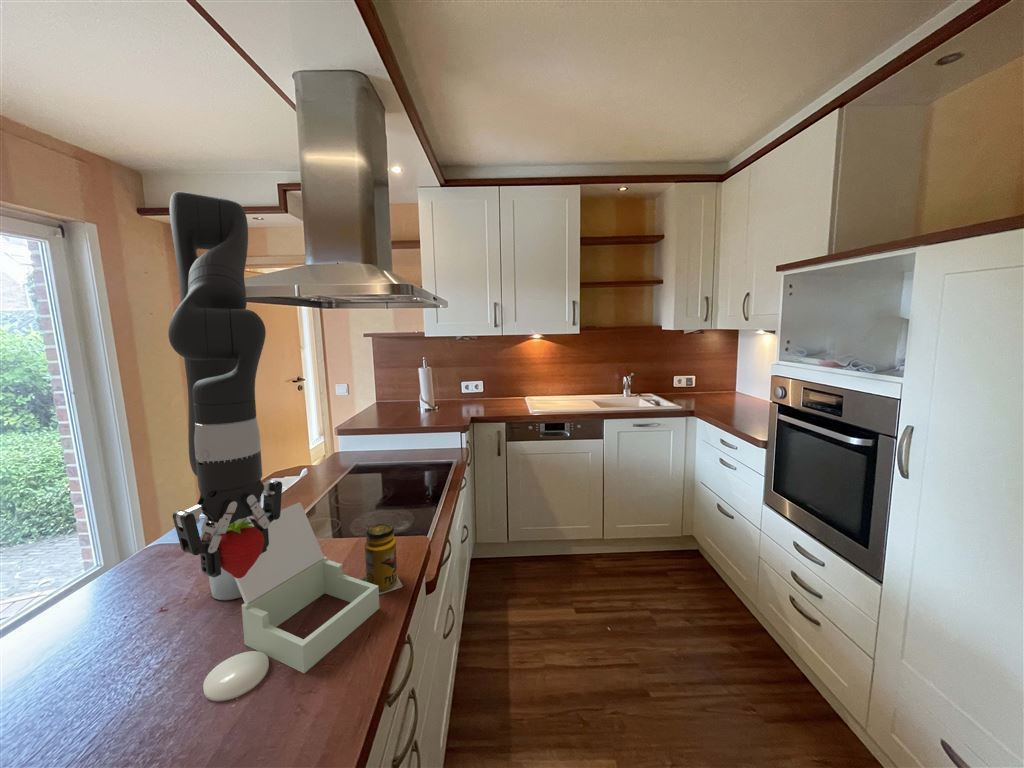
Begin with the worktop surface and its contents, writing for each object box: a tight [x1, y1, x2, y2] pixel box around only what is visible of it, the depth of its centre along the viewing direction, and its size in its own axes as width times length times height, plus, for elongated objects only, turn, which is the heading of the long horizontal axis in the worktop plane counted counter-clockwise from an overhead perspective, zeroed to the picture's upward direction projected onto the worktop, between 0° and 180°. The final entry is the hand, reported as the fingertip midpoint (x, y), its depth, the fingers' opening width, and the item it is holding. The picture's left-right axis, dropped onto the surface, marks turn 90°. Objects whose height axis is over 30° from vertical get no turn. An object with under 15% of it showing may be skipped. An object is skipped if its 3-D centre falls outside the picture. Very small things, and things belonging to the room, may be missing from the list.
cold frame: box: [234, 501, 380, 674], centre depth 70 cm, size 20×16×18 cm
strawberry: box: [217, 519, 264, 578], centre depth 58 cm, size 6×8×10 cm
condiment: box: [358, 523, 404, 595], centre depth 81 cm, size 7×8×12 cm
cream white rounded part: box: [202, 650, 270, 702], centre depth 59 cm, size 8×8×1 cm
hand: (237, 562), depth 58 cm, fingers closed on strawberry, 6 cm apart
